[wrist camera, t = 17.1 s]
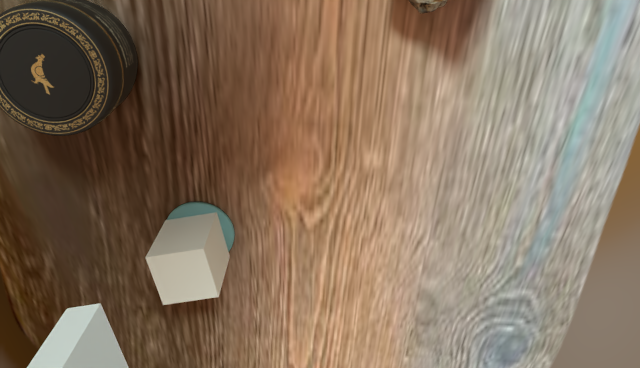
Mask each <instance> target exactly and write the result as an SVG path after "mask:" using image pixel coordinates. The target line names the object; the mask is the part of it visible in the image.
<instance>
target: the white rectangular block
mask: <svg viewBox="0 0 640 368" xmlns="http://www.w3.org/2000/svg"><path fill="white" fill-rule="evenodd" d="M145 258H146V261H147V263H148V266H149V269H150V271H151V274H152V277H153V279H154V282H155V285H156V287H157V290H158V293H159V295H160V298H161V301H162V303H163V305H167V304H174V303H181V302H188V301H194V300H201V299H208V298H215V297H219V294H220V291H221V287H222V283H223V280H224V276H225V272H226V269H227V265H228V261H229V258H230V255H229V252H228V249H227V245H226V242H225V238H224V235H223V231H222V228H221V225H220V221H219V218H218V214H217V212H215V213H209V214H202V215H196V216H190V217H183V218H177V219H170V220H165V222H164V224H163V226H162V228H161V229H160V231H159V233H158V235H157V237H156V239H155V241H154V242H153V244H152V246H151V248H150V250H149V252H148V254H147V255H146V257H145Z"/></svg>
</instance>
